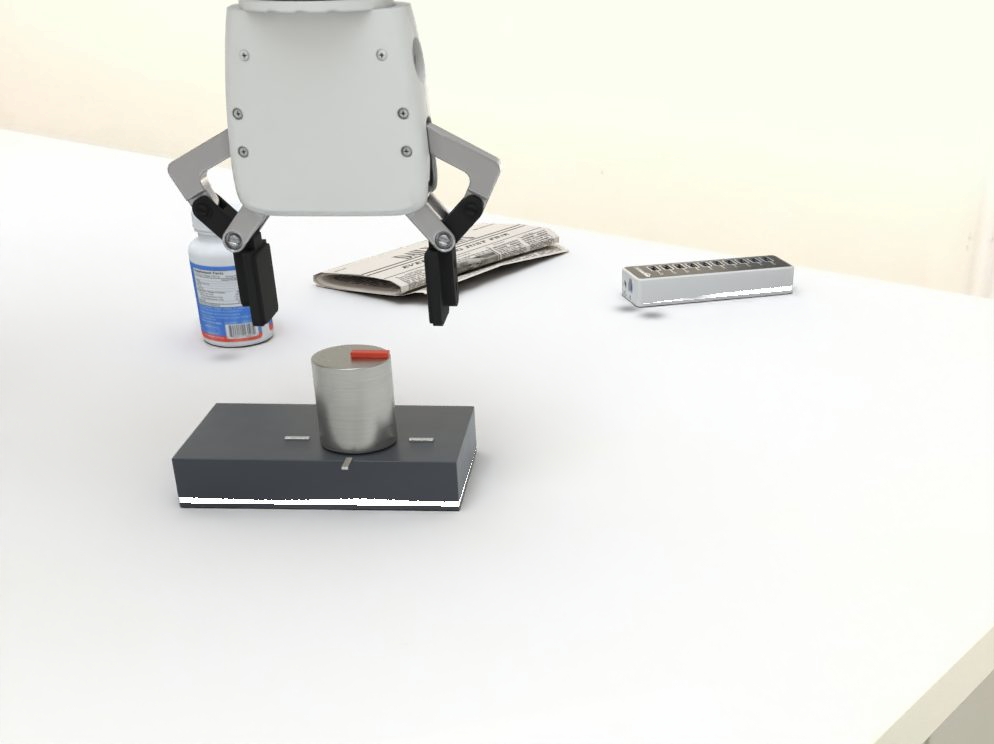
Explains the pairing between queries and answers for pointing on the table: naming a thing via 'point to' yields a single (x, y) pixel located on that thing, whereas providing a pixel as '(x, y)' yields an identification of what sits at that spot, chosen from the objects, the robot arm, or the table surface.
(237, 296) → the pill bottle
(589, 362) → the table surface
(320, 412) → the hob knob
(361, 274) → the newspaper
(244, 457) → the panel
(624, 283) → the multiport hub
